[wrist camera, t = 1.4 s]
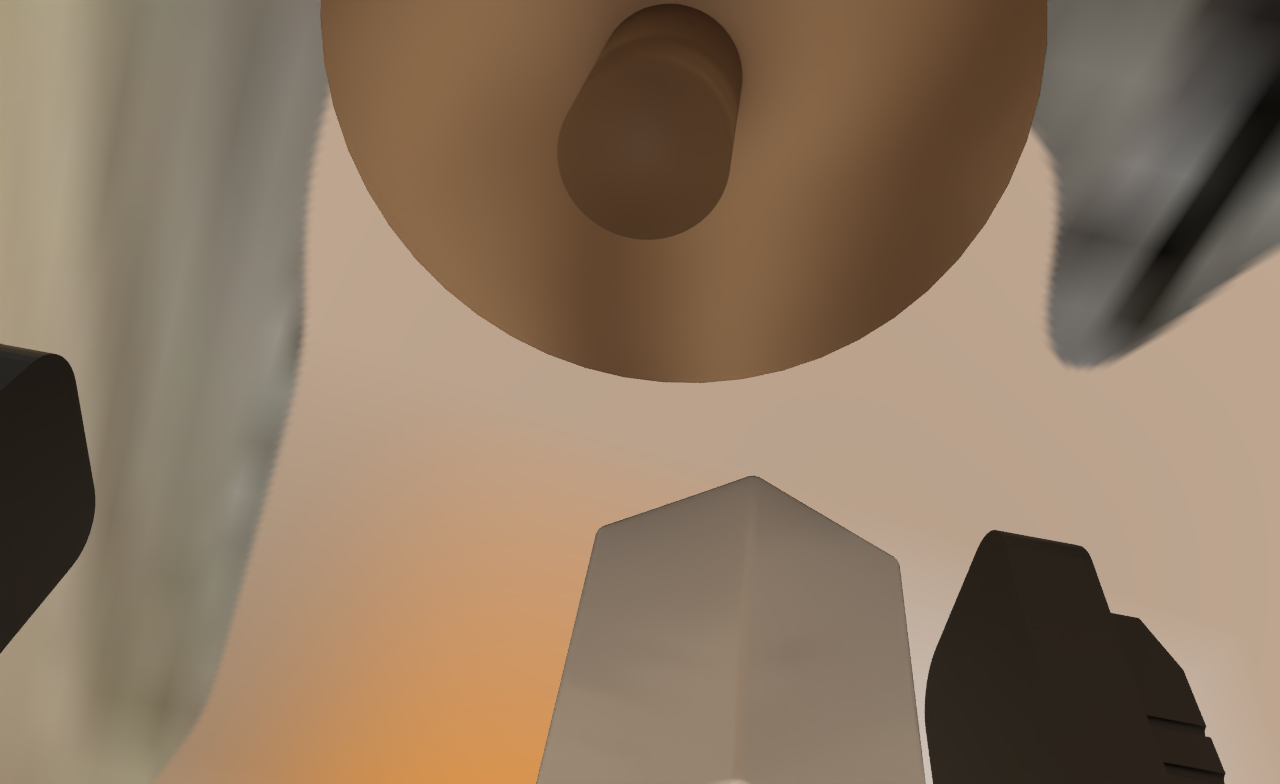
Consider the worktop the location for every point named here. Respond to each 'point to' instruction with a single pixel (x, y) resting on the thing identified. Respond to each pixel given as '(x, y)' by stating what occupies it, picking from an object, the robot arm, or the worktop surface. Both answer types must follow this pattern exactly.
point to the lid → (685, 162)
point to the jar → (736, 652)
